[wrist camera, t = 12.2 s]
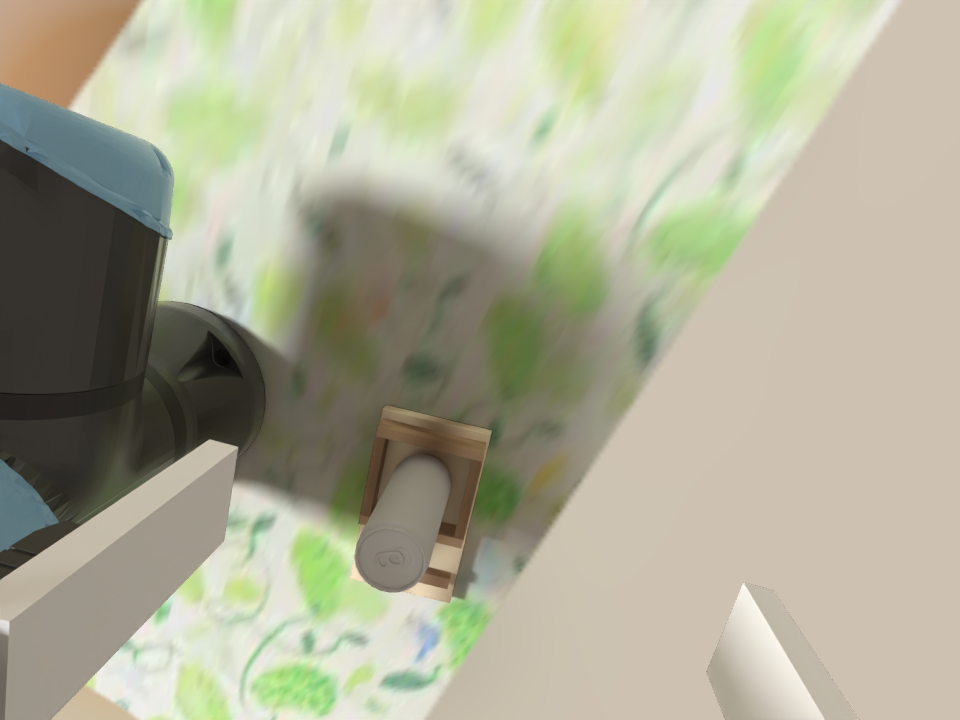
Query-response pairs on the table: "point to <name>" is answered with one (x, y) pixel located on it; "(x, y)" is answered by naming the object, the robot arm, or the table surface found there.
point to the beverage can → (404, 525)
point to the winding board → (465, 463)
